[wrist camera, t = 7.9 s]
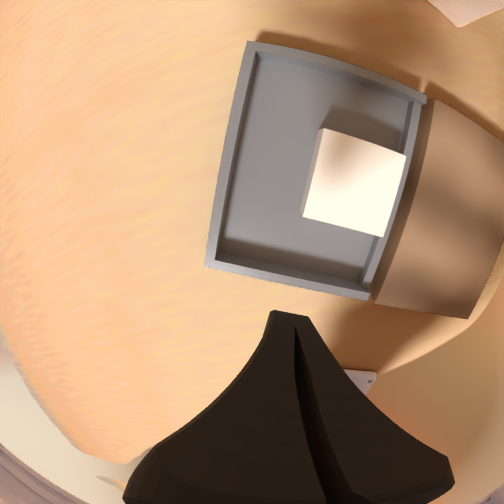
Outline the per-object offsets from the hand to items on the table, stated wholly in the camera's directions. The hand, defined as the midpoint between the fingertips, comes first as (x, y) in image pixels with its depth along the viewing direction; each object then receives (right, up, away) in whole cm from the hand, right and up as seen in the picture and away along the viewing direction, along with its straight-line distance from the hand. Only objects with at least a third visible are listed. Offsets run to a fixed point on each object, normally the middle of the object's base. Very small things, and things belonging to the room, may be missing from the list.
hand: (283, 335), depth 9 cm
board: (+14, +5, +7) cm, 16 cm away
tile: (+5, +7, +6) cm, 11 cm away
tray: (+3, +8, +7) cm, 11 cm away
